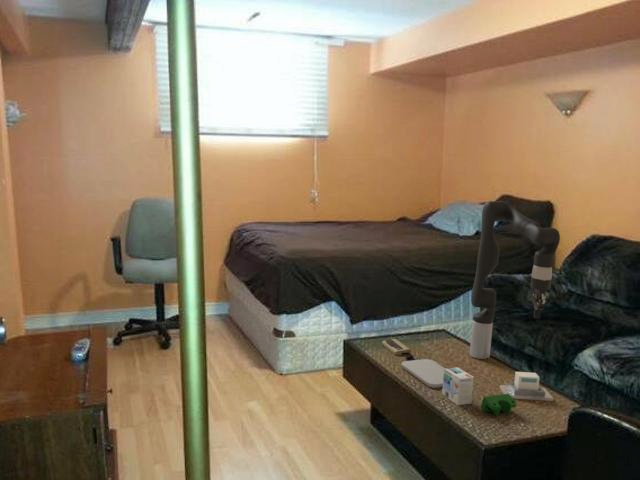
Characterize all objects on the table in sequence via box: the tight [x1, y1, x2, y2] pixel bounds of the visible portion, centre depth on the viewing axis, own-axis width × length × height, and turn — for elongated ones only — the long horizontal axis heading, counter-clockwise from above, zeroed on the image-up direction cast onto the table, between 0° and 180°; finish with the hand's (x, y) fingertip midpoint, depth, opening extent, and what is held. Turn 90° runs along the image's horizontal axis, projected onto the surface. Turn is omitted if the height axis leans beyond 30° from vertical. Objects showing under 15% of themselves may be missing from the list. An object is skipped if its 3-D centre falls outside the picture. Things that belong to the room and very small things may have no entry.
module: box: [513, 371, 540, 391], centre depth 221 cm, size 5×8×7 cm, turn 87°
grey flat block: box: [499, 380, 554, 402], centre depth 222 cm, size 10×18×3 cm, turn 87°
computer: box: [381, 338, 411, 356], centre depth 268 cm, size 16×8×3 cm, turn 17°
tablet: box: [401, 358, 446, 389], centre depth 237 cm, size 16×26×2 cm, turn 21°
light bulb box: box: [441, 366, 475, 406], centre depth 214 cm, size 11×7×11 cm, turn 22°
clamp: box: [480, 393, 518, 417], centre depth 204 cm, size 12×6×9 cm, turn 105°
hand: (536, 318), depth 226 cm, fingers closed
